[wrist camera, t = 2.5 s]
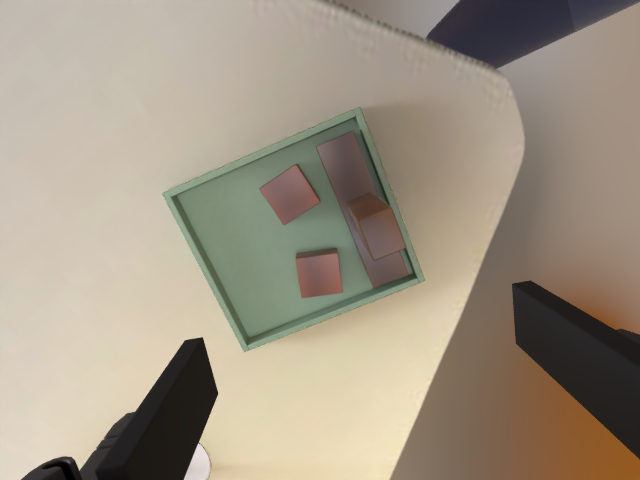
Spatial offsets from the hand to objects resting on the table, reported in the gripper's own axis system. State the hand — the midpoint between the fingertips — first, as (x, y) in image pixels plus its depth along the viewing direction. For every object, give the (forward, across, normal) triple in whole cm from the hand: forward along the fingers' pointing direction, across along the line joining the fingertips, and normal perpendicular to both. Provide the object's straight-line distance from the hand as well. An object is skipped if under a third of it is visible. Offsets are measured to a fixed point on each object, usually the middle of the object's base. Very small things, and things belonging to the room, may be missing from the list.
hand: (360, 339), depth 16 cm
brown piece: (+21, +3, +2) cm, 21 cm away
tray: (+21, -3, +1) cm, 22 cm away
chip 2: (+21, -2, -3) cm, 21 cm away
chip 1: (+21, -3, +5) cm, 22 cm away
